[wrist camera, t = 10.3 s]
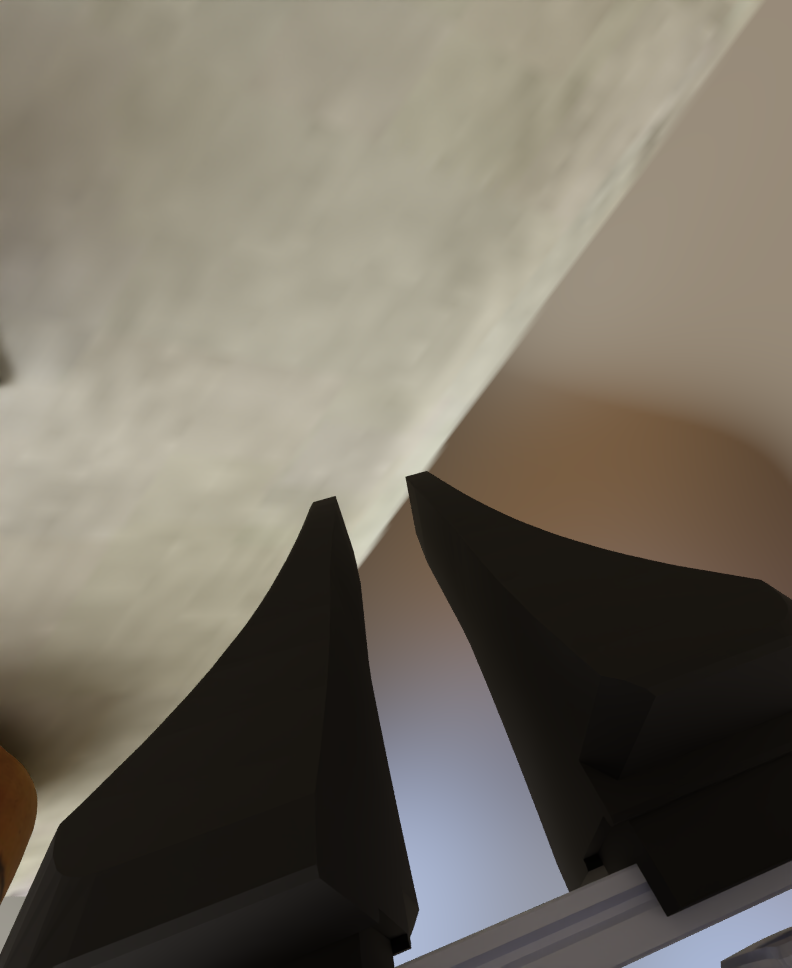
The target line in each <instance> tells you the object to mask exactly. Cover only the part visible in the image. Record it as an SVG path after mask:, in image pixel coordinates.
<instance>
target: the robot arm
mask: <svg viewBox="0 0 792 968" xmlns="http://www.w3.org/2000/svg"><path fill="white" fill-rule="evenodd" d="M406 482H407V487H408V493H409V498H410V503H411V509H412V514H413V520H414V525H415V530H416V534H417V537H418V539H419V542H420V545H421V548H422V550H423V553H424V555H425V558H426V560H427V563H428V564H429V567H430V568H431V570H432V572H433V574H434V576H435V578H436V580H437V582H438V584H439V585H440V587H441V589H442V591H443V593H444V595H445V596H446V598H447V600H448V602H449V604H450V606H451V608H452V610H453V612H454V613H455V615H456V617H457V619H458V621H459V623H460V625H461V627H462V628H463V630H464V633H465V635H466V637H467V639H468V641H469V643H470V645H471V647H472V650H473V652H474V654H475V657H476V659H477V662H478V664H479V666H480V669H481V671H482V673H483V676H484V678H485V681H486V683H487V686H488V688H489V691H490V693H491V695H492V698H493V700H494V703H495V705H496V708H497V710H498V713H499V715H500V718H501V720H502V722H503V725H504V727H505V730H506V733H507V735H508V738H509V740H510V743H511V745H512V748H513V750H514V753H515V755H516V758H517V760H518V763H519V765H520V768H521V771H522V773H523V776H524V778H525V781H526V783H527V786H528V789H529V791H530V794H531V796H532V799H533V801H534V804H535V807H536V810H537V812H538V815H539V817H540V820H541V823H542V825H543V828H544V831H545V833H546V836H547V838H548V841H549V844H550V846H551V849H552V852H553V855H554V857H555V860H556V863H557V865H558V867H559V870H560V872H561V874H562V877H563V879H564V881H565V883H566V886H567V888H568V890H569V893H567V894H564V895H562V896H560V897H557V898H555V899H553V900H551V901H548V902H546V903H543V904H541V905H539V906H536V907H534V908H532V909H529V910H527V911H525V912H522V913H520V914H518V915H515V916H513V917H511V918H508V919H506V920H504V921H501V922H499V923H497V924H495V925H492V926H490V927H488V928H485V929H483V930H481V931H479V932H476V933H474V934H471V935H469V936H467V937H464V938H462V939H460V940H457V941H455V942H453V943H450V944H448V945H446V946H443V947H441V948H439V949H436V950H434V951H432V952H429V953H427V954H425V955H422V956H420V957H418V958H415V959H413V960H411V961H408V962H406V963H404V964H401V965H399V966H397V967H395V968H622V967H624V966H626V965H628V964H630V963H632V962H634V961H637V960H639V959H641V958H643V957H645V956H647V955H650V954H652V953H654V952H656V951H658V950H660V949H663V948H665V947H667V946H669V945H671V944H673V943H675V942H678V941H680V940H682V939H684V938H686V937H688V936H691V935H693V934H695V933H697V932H699V931H701V930H703V929H706V928H708V927H710V926H712V925H714V924H716V923H719V922H721V921H723V920H725V919H727V918H729V917H731V916H734V915H736V914H738V913H740V912H742V911H744V910H747V909H749V908H751V907H753V906H755V905H757V904H759V903H762V902H764V901H766V900H768V899H770V898H773V897H775V896H777V895H779V894H781V893H783V892H785V891H788V890H790V889H792V600H791V599H790V598H788V597H787V596H785V595H784V594H782V593H781V592H779V591H777V590H776V589H775V588H773V587H771V586H770V585H768V584H767V583H765V582H763V581H762V580H759V579H752V578H747V577H741V576H734V575H729V574H722V573H717V572H711V571H705V570H699V569H693V568H687V567H682V566H676V565H671V564H666V563H662V562H657V561H652V560H648V559H643V558H639V557H634V556H630V555H625V554H622V553H618V552H614V551H610V550H606V549H602V548H599V547H595V546H592V545H588V544H585V543H581V542H578V541H574V540H572V539H568V538H565V537H562V536H559V535H556V534H553V533H550V532H548V531H544V530H542V529H540V528H537V527H534V526H531V525H529V524H526V523H524V522H521V521H519V520H516V519H514V518H512V517H510V516H507V515H505V514H503V513H501V512H499V511H497V510H495V509H492V508H490V507H488V506H486V505H484V504H482V503H480V502H479V501H476V500H475V499H473V498H471V497H469V496H467V495H466V494H463V493H462V492H460V491H459V490H457V489H455V488H454V487H452V486H450V485H449V484H447V483H445V482H444V481H442V480H440V479H439V478H437V477H436V476H434V475H432V474H431V473H429V472H427V471H425V472H421V473H418V474H414V475H410V476H407V477H406ZM418 911H419V907H418V902H417V898H416V893H415V888H414V884H413V879H412V875H411V870H410V865H409V861H408V856H407V851H406V847H405V843H404V837H403V833H402V828H401V823H400V819H399V814H398V809H397V805H396V800H395V795H394V790H393V786H392V781H391V776H390V771H389V766H388V761H387V756H386V751H385V747H384V742H383V736H382V731H381V726H380V722H379V716H378V711H377V706H376V701H375V697H374V691H373V686H372V681H371V674H370V667H369V661H368V651H367V642H366V632H365V621H364V611H363V602H362V593H361V583H360V578H359V573H358V569H357V564H356V560H355V555H354V551H353V548H352V545H351V542H350V539H349V536H348V533H347V530H346V527H345V524H344V520H343V517H342V514H341V511H340V508H339V505H338V502H337V499H336V496H334V497H330V498H327V499H323V500H319V501H316V502H313V504H312V505H311V507H310V509H309V512H308V514H307V517H306V519H305V522H304V524H303V526H302V529H301V531H300V533H299V535H298V537H297V540H296V542H295V544H294V546H293V548H292V550H291V552H290V554H289V556H288V558H287V560H286V562H285V563H284V565H283V567H282V569H281V570H280V572H279V574H278V576H277V577H276V579H275V581H274V583H273V584H272V586H271V588H270V589H269V591H268V593H267V594H266V596H265V597H264V599H263V601H262V602H261V604H260V605H259V607H258V608H257V610H256V611H255V612H254V614H253V615H252V617H251V618H250V620H249V621H248V623H247V624H246V625H245V627H244V628H243V629H242V631H241V632H240V633H239V634H238V636H237V637H236V638H235V639H234V641H233V642H232V643H231V644H230V646H229V647H228V648H227V649H226V651H225V652H224V653H223V654H222V656H221V657H220V658H219V659H218V661H217V662H216V663H215V664H214V666H213V667H212V668H211V669H210V671H209V672H208V673H207V674H206V675H205V676H204V678H203V679H202V680H201V681H200V682H199V683H198V684H197V685H196V687H195V688H194V689H193V690H192V691H191V692H190V693H189V694H188V696H187V697H186V698H185V699H184V700H183V701H182V702H181V703H180V704H179V705H178V707H177V708H176V709H175V710H174V711H173V712H172V713H171V714H170V715H169V716H168V717H167V718H166V719H165V721H164V722H163V723H162V724H161V725H160V726H159V727H158V728H157V729H156V730H155V731H154V732H153V733H152V734H151V735H150V736H149V737H148V738H147V739H146V740H145V741H144V742H143V744H142V745H141V746H140V747H139V748H137V749H136V750H135V751H134V752H133V753H132V754H131V755H130V756H129V757H128V758H127V759H126V760H125V761H124V762H123V763H122V764H121V765H120V766H119V767H118V768H117V769H116V770H115V771H114V772H113V773H112V774H111V775H110V776H109V777H108V778H107V779H106V780H105V781H104V782H103V783H102V784H101V785H100V786H99V787H98V788H97V789H96V790H95V791H94V792H93V793H92V794H91V795H90V796H89V797H88V798H87V799H86V800H85V801H84V802H83V803H82V804H81V805H80V806H79V807H77V808H76V809H75V810H74V811H73V812H72V813H71V814H70V815H69V816H68V817H67V818H66V819H65V820H64V821H63V822H62V823H61V824H60V825H59V827H58V829H57V831H56V833H55V835H54V837H53V839H52V841H51V843H50V846H49V848H48V850H47V852H46V854H45V857H44V859H43V861H42V863H41V865H40V868H39V870H38V872H37V874H36V877H35V879H34V881H33V883H32V885H31V888H30V890H29V892H28V894H27V896H26V899H25V901H24V903H23V905H22V907H21V910H20V912H19V914H18V916H17V918H16V921H15V923H14V925H13V927H12V929H11V932H10V934H9V936H8V938H7V941H6V943H5V945H4V947H3V949H2V952H1V954H0V968H394V961H393V956H395V955H397V954H400V953H402V952H404V951H407V950H409V949H411V941H410V936H411V934H412V931H413V928H414V925H415V921H416V918H417V915H418ZM721 968H792V927H789V928H787V929H784V930H782V931H779V932H777V933H775V934H773V935H771V936H768V937H766V938H764V939H762V940H760V941H758V942H756V943H754V944H752V945H750V946H748V947H746V948H745V949H743V950H741V951H739V952H738V953H735V954H734V955H732V956H730V957H728V958H726V959H725V960H723V961H721Z"/></svg>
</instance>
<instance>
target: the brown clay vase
mask: <svg viewBox="0 0 792 968" xmlns="http://www.w3.org/2000/svg"><path fill="white" fill-rule="evenodd" d="M36 815H37V793H36V790H35V786H34V783H33V781H32V779H31V777H30V775H29V774H28V772H27V771H26V769H25V768H24V766H23V765H22V764H21V763H20V762H19V761H18V760H17V759H16V758H15V757H14V756H12V755H11V754H9V753H8V752H7V751H6V750H5V749H4V748H2V747H1V746H0V904H1V902H2V900H3V898H4V896H5V894H6V892H7V890H8V888H9V886H10V884H11V882H12V880H13V878H14V876H15V873H16V871H17V869H18V867H19V864H20V862H21V860H22V857H23V855H24V852H25V849H26V847H27V844H28V842H29V839H30V837H31V834H32V831H33V829H34V824H35V820H36Z"/></svg>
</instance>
